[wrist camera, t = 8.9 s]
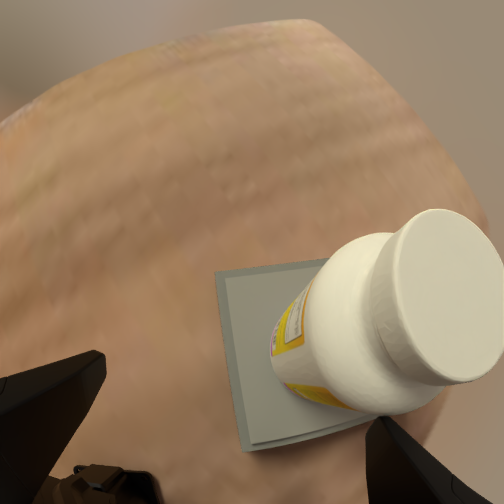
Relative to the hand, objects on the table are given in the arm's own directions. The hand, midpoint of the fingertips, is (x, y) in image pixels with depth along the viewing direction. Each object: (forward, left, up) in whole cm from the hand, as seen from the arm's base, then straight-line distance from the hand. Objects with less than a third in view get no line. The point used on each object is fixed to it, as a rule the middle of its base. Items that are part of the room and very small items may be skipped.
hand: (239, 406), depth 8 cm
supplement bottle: (+1, -6, -9) cm, 11 cm away
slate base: (+1, -6, -12) cm, 13 cm away
